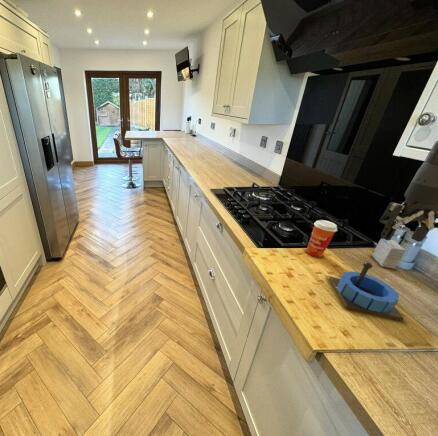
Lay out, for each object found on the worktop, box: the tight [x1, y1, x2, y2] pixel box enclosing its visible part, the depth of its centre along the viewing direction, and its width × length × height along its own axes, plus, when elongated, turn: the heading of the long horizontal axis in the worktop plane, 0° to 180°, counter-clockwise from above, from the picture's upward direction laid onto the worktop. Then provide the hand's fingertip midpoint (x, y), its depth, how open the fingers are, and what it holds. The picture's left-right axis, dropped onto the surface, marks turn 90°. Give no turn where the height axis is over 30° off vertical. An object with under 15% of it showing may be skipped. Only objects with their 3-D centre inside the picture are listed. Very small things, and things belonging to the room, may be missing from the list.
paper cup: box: [306, 219, 338, 258], centre depth 95 cm, size 8×8×14 cm
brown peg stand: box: [328, 261, 405, 322], centre depth 72 cm, size 14×14×13 cm
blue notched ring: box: [337, 271, 400, 312], centre depth 74 cm, size 14×14×4 cm
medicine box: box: [371, 238, 407, 270], centre depth 92 cm, size 8×4×9 cm, turn 161°
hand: (400, 239), depth 65 cm, fingers open, 8 cm apart
